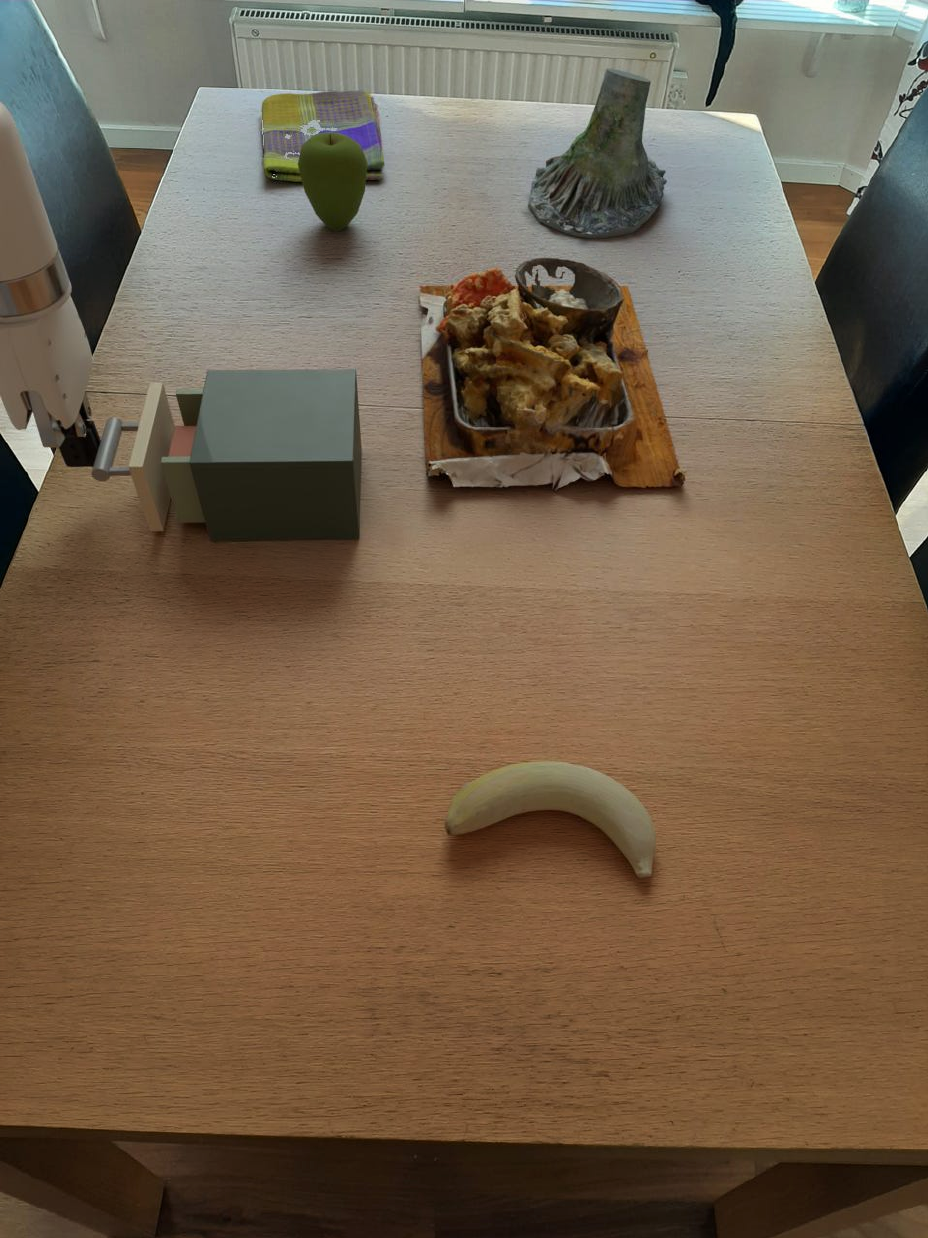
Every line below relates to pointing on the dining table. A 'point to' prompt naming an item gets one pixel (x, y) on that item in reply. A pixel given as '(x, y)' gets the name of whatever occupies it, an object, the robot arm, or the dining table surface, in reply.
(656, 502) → the dining table surface
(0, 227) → the robot arm
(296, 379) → the cabinet
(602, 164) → the tree stump
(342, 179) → the apple
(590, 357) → the food tray
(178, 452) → the block
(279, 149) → the dish towel
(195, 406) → the drawer
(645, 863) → the fruit
